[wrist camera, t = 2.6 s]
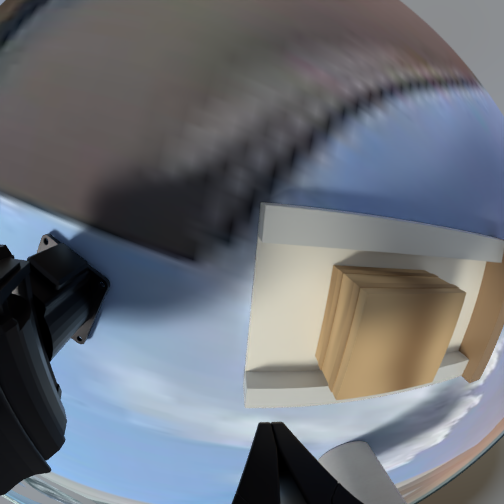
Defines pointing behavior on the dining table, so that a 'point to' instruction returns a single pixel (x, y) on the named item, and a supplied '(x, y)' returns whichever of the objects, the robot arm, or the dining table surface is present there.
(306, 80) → the dining table surface
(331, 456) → the coffee cup
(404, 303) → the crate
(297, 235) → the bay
